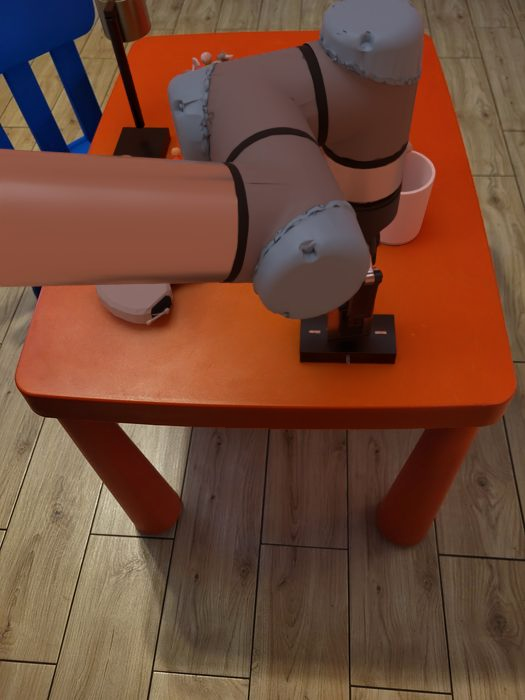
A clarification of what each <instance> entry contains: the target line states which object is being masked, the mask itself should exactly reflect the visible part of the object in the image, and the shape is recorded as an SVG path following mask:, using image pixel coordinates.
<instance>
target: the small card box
mask: <svg viewBox="0 0 525 700" xmlns="http://www.w3.org/2000/svg"><path fill="white" fill-rule="evenodd" d="M375 304H376V302H375V303H374V305H375ZM374 310H375V306H374V307H373V311H372V315H371V317H370V318H364V324H363V332H362V334H360V335H353V336H345V337H340V333H339V331H340V315H341V312H339V310H338V308H336V309H334V310H332V311H330V312H328V313H325V314H326V322H325V332H326V337H327V340H334V339H341V338H349V337H356V336H364V335H370V332H371V325H372V318H373V314H374Z"/></svg>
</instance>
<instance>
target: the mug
mask: <svg viewBox="0 0 525 700" xmlns="http://www.w3.org/2000/svg"><path fill="white" fill-rule="evenodd" d="M435 179H436V168H435V165H434V164H433V162H432V161H431V160H430V159H429V158H428V157H427V156H426V155H425V154H423V153H421V152H418V151H416V150H412V151H411V152H409V153H406V157H405V165H404V171H403V184H402V192H401V194H400V200H399V207H398V212H397V215H396V217H395V218H394V220H393V221H392V222H391V224H389V225H388V226H387V227H386V228H384V229H383V230H382V231H381V232H380V244H383V245H387V246H401V245H405V244H408V243H409V242H411V241H413V240H415V239H416V237H417V236H418V235H419V233H420V231H421V228H422V225H423V221H424V218H425V213H426V210H427V207H428V204H429V200H430V197H431V193H432V189H433V185H434V183H435Z"/></svg>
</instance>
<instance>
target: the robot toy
mask: <svg viewBox="0 0 525 700" xmlns="http://www.w3.org/2000/svg"><path fill="white" fill-rule="evenodd" d="M94 287H95V291H96V294H97V296H98V299H99V301H100V303H101V304H102V306H103V307H104V308H105V309H106V310H107V311H108V312H109V313H110V314H111V315H113V316H115V317H117V318H118V319H119V318H120V319H122V320H124V321H126V322H129V323H133V324H146V325H147V326H149V325H151V324H152V323H153V322H155V321H157V320H159V319H160V318H162V317H163V316H164V315H168V314H169V313H170V310H171V308H172V306H173V299H174V296H173V295H174V294H173V292H172V287H171V284H127V285H94Z"/></svg>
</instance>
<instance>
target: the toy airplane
mask: <svg viewBox="0 0 525 700" xmlns="http://www.w3.org/2000/svg"><path fill="white" fill-rule="evenodd" d="M234 59H235V55H234V54H229V53H227V52H226V51H225V50H224V49H222V50H221V52H220V53H218V54H217V55H216V60H215V61H213V56H212V53H210V52H208V51H204V52H202V53H201V55H200V61H199V60H198V59H197V58H196V57H192V58H191V61H192V65H191V67H192V69H186V70H185V71H183V73H186V72H190V71H193V70H196V69H200V68H203V67H206V66H209V65H210V64H211V63H214V62H224V61H229V60H234ZM200 62H201V63H202V64H201V63H200Z"/></svg>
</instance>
